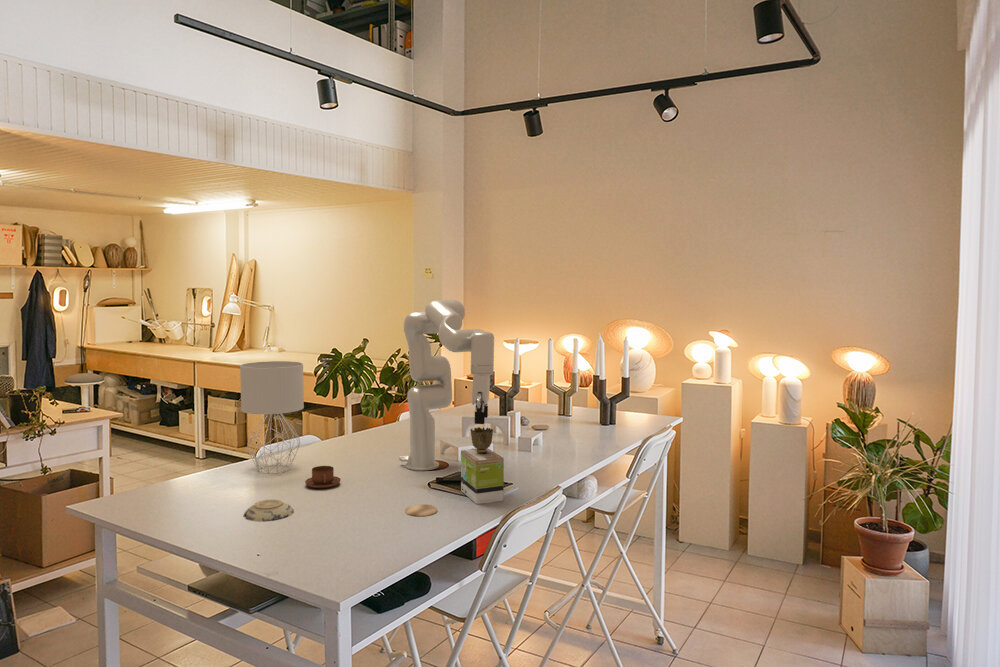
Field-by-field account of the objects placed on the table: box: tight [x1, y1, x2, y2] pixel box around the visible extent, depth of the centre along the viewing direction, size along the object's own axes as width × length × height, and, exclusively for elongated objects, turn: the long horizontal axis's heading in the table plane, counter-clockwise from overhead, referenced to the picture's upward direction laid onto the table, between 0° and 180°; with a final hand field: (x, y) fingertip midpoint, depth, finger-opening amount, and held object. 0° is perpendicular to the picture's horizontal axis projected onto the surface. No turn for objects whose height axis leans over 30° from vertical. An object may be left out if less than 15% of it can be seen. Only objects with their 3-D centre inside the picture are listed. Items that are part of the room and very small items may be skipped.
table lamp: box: [239, 360, 305, 475], centre depth 265 cm, size 22×22×40 cm
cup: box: [470, 426, 494, 454], centre depth 233 cm, size 8×7×8 cm
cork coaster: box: [404, 503, 438, 517], centre depth 219 cm, size 10×10×1 cm
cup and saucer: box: [304, 465, 342, 489], centre depth 246 cm, size 12×12×6 cm
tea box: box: [460, 448, 505, 505], centre depth 233 cm, size 15×10×15 cm, turn 23°
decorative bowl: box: [242, 499, 295, 523], centre depth 215 cm, size 15×4×15 cm
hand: (481, 420), depth 233 cm, fingers open, 9 cm apart
